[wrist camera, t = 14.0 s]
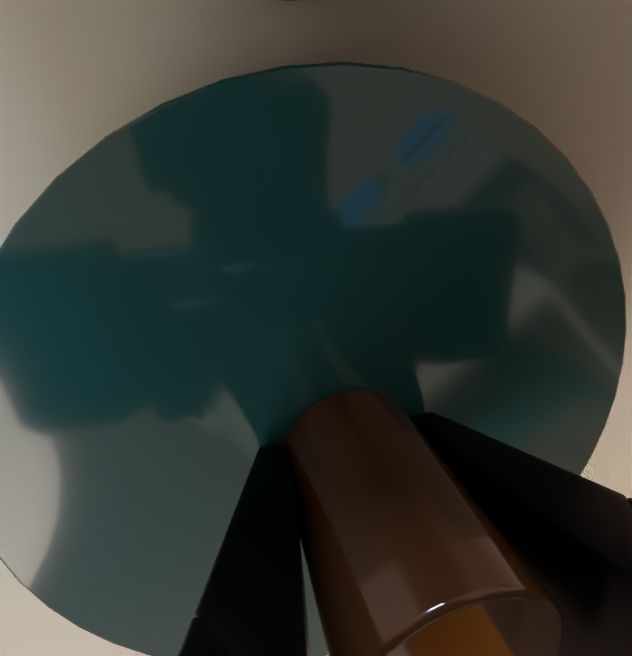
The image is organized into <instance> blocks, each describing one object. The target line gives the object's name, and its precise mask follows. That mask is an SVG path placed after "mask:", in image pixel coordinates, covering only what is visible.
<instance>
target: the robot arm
mask: <svg viewBox="0 0 632 656" xmlns="http://www.w3.org/2000/svg"><path fill="white" fill-rule="evenodd" d="M411 420H412V421H413V422H414V423H415V425H416V426H417V427H418V429H419V430H420V431H421V432H422V434H423V435H424V436H425V437H426V439H427V440H428V441H429V442H430V444H431V445H432V446H433V448H434V449H435V450H436V451H437V453H438V454H439V455H440V456H441V458H442V459H443V460H444V461H445V463H446V464H447V465H448V467H449V468H450V469H451V470H452V472H453V473H454V474H455V475H456V477H457V478H458V479H459V480H460V482H461V483H462V484H463V485H464V487H465V488H466V489H467V491H468V492H469V493H470V494H471V496H472V497H473V498H474V499H475V501H476V502H477V503H478V504H479V506H480V507H481V508H482V510H483V511H484V512H485V513H486V515H487V516H488V517H489V518H490V520H491V521H492V522H493V523H494V525H495V526H496V527H497V529H498V530H499V531H500V532H501V534H502V535H503V536H504V537H505V539H506V540H507V541H508V542H509V544H510V545H511V546H512V547H513V549H514V550H515V551H516V553H517V554H518V555H519V556H520V558H521V559H522V560H523V561H524V563H525V564H526V565H527V566H528V568H529V569H530V570H531V572H532V573H533V574H534V575H535V577H536V578H537V579H538V580H539V582H540V583H541V584H542V585H543V587H544V588H545V589H546V591H547V592H548V593H549V594H550V596H551V597H552V598H553V599H554V601H555V602H556V603H557V605H558V608H559V610H560V612H561V615H562V618H563V623H564V637H563V642H562V646H561V648H560V651H559V653H558V656H632V498H628V499H627V498H626V497H625V496H624V495H623V494H620V493H618V492H616V491H613V490H611V489H609V488H607V487H604V486H602V485H600V484H597V483H595V482H593V481H590V480H588V479H586V478H584V477H581V476H579V475H577V474H574V473H572V472H570V471H567V470H565V469H563V468H561V467H558V466H556V465H554V464H551V463H549V462H547V461H544V460H542V459H540V458H538V457H535V456H533V455H531V454H528V453H526V452H524V451H522V450H519V449H517V448H515V447H512V446H510V445H508V444H505V443H503V442H501V441H499V440H496V439H494V438H492V437H489V436H487V435H485V434H482V433H480V432H478V431H476V430H473V429H471V428H469V427H466V426H464V425H462V424H459V423H457V422H455V421H453V420H450V419H448V418H446V417H443V416H441V415H439V414H436V413H434V412H426V413H421V414H416V415H414V416H413V417H412V419H411ZM177 656H311V653H310V641H309V629H308V617H307V605H306V593H305V581H304V572H303V562H302V553H301V543H300V533H299V524H298V514H297V504H296V495H295V487H294V483H293V479H292V476H291V472H290V469H289V466H288V462H287V459H286V456H285V452H284V449H283V446H282V444H281V443H279V442H277V443H272V444H267V445H262V446H260V447H259V449H258V451H257V454H256V456H255V459H254V462H253V464H252V467H251V469H250V472H249V474H248V477H247V480H246V482H245V485H244V487H243V490H242V492H241V495H240V498H239V500H238V503H237V505H236V508H235V510H234V513H233V516H232V518H231V521H230V523H229V526H228V528H227V531H226V533H225V536H224V539H223V541H222V544H221V546H220V549H219V551H218V554H217V557H216V559H215V562H214V564H213V567H212V569H211V572H210V575H209V577H208V580H207V582H206V585H205V587H204V590H203V593H202V595H201V598H200V600H199V603H198V605H197V608H196V611H195V617H194V618H193V619H192V620H191V623H190V625H189V628H188V630H187V633H186V636H185V638H184V641H183V643H182V646H181V648H180V651H179V653H178V655H177Z"/></svg>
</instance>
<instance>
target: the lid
mask: <svg viewBox="0 0 632 656" xmlns="http://www.w3.org/2000/svg"><path fill="white" fill-rule="evenodd" d="M625 338H626V295H625V289H624V283H623V277H622V270H621V264H620V259H619V256H618V253H617V250H616V247H615V244H614V240H613V237H612V234H611V231H610V228H609V225H608V223H607V221H606V219H605V217H604V215H603V213H602V211H601V209H600V207H599V205H598V203H597V201H596V199H595V197H594V195H593V193H592V191H591V190H590V188H589V187H588V185H587V184H586V183H585V181H584V180H583V179H582V177H581V176H580V175H579V173H578V172H577V170H576V169H575V168H574V166H573V165H572V164H571V162H570V161H569V159H568V158H567V157H566V156H565V155H564V154H563V153H562V152H561V151H560V150H559V149H558V148H557V147H556V146H555V145H554V144H552V143H551V142H550V141H549V140H548V139H547V138H546V137H545V136H544V135H543V134H542V133H541V132H540V131H539V130H538V129H537V128H536V127H534V126H533V125H531V124H530V123H528V122H527V121H526V120H524V119H523V118H521V117H520V116H518V115H517V114H515V113H514V112H512V111H511V110H509V109H508V108H506V107H505V106H504V105H502V104H501V103H499V102H498V101H496V100H493V99H491V98H489V97H487V96H485V95H483V94H480V93H478V92H476V91H474V90H472V89H469V88H467V87H465V86H463V85H461V84H458V83H456V82H454V81H452V80H448V79H444V78H440V77H437V76H433V75H429V74H425V73H422V72H418V71H414V70H410V69H406V68H403V67H396V66H385V65H375V64H364V63H354V62H329V63H314V64H298V65H284V66H279V67H275V68H270V69H266V70H261V71H257V72H253V73H248V74H244V75H239V76H235V77H230V78H226V79H222V80H219V81H217V82H214V83H212V84H209V85H207V86H204V87H202V88H199V89H197V90H194V91H192V92H189V93H186V94H184V95H181V96H179V97H176V98H174V99H171V100H169V101H166V102H164V103H162V104H160V105H158V106H156V107H155V108H153V109H151V110H150V111H148V112H146V113H144V114H143V115H141V116H139V117H138V118H136V119H134V120H133V121H131V122H129V123H127V124H126V125H124V126H122V127H121V128H119V129H117V130H116V131H114V132H112V133H110V134H109V135H107V136H106V137H104V138H103V139H102V140H101V141H99V142H98V143H97V144H96V145H95V146H93V147H92V148H91V149H90V150H89V151H87V152H86V153H85V154H84V155H82V156H81V157H80V158H79V159H78V160H76V161H75V162H74V163H73V164H72V165H70V166H69V167H68V168H67V169H65V170H64V171H63V172H62V173H61V174H59V175H58V176H57V177H56V178H55V179H54V180H53V181H52V182H51V184H50V185H49V186H48V187H47V188H46V189H45V190H44V192H43V193H42V194H41V195H40V196H39V197H38V198H37V199H36V201H35V202H34V203H33V204H32V205H31V206H30V207H29V209H28V210H27V211H26V212H25V213H24V214H23V215H22V217H21V218H20V219H19V220H18V221H17V222H16V223H15V225H14V226H13V228H12V230H11V231H10V233H9V234H8V236H7V238H6V239H5V241H4V242H3V244H2V246H1V247H0V559H1V560H2V562H3V563H4V564H5V565H6V566H7V568H8V569H9V570H10V571H11V572H12V574H13V575H14V576H15V577H16V578H17V580H18V581H19V582H20V583H21V584H22V585H24V586H25V587H26V588H27V589H28V590H29V591H30V592H32V593H33V594H34V595H35V596H36V597H37V598H38V599H40V600H41V601H42V602H43V603H44V604H45V605H46V606H47V607H49V608H50V609H52V610H53V611H55V612H56V613H58V614H60V615H61V616H63V617H64V618H66V619H67V620H69V621H70V622H72V623H73V624H75V625H76V626H78V627H80V628H82V629H84V630H86V631H88V632H90V633H92V634H94V635H96V636H98V637H101V638H103V639H105V640H107V641H109V642H111V643H113V644H116V645H119V646H122V647H125V648H128V649H131V650H134V651H137V652H140V653H143V654H146V655H151V656H177V655H178V653H179V651H180V648H181V646H182V643H183V641H184V638H185V636H186V633H187V630H188V628H189V625H190V623H191V620H192V619H193V618H194V617H195V611H196V608H197V605H198V603H199V600H200V598H201V595H202V593H203V590H204V587H205V585H206V582H207V580H208V577H209V575H210V572H211V569H212V567H213V564H214V562H215V559H216V557H217V554H218V551H219V549H220V546H221V544H222V541H223V539H224V536H225V533H226V531H227V528H228V526H229V523H230V521H231V518H232V516H233V513H234V510H235V508H236V505H237V503H238V500H239V498H240V495H241V492H242V490H243V487H244V485H245V482H246V480H247V477H248V474H249V472H250V469H251V467H252V464H253V462H254V459H255V456H256V454H257V451H258V449H259V447H260V446H262V445H267V444H272V443H277V442H279V443H281V444H282V446H283V449H284V452H285V456H286V459H287V462H288V466H289V469H290V472H291V476H292V479H293V483H294V487H295V495H296V504H297V514H298V524H299V533H300V543H301V553H302V562H303V572H304V581H305V593H306V605H307V617H308V629H309V641H310V653H311V656H327V655H328V656H558V653H559V651H560V648H561V646H562V642H563V637H564V623H563V618H562V615H561V612H560V610H559V608H558V605H557V603H556V602H555V601H554V599H553V598H552V597H551V596H550V594H549V593H548V592H547V591H546V589H545V588H544V587H543V585H542V584H541V583H540V582H539V580H538V579H537V578H536V577H535V575H534V574H533V573H532V572H531V570H530V569H529V568H528V566H527V565H526V564H525V563H524V561H523V560H522V559H521V558H520V556H519V555H518V554H517V553H516V551H515V550H514V549H513V547H512V546H511V545H510V544H509V542H508V541H507V540H506V539H505V537H504V536H503V535H502V534H501V532H500V531H499V530H498V529H497V527H496V526H495V525H494V523H493V522H492V521H491V520H490V518H489V517H488V516H487V515H486V513H485V512H484V511H483V510H482V508H481V507H480V506H479V504H478V503H477V502H476V501H475V499H474V498H473V497H472V496H471V494H470V493H469V492H468V491H467V489H466V488H465V487H464V485H463V484H462V483H461V482H460V480H459V479H458V478H457V477H456V475H455V474H454V473H453V472H452V470H451V469H450V468H449V467H448V465H447V464H446V463H445V461H444V460H443V459H442V458H441V456H440V455H439V454H438V453H437V451H436V450H435V449H434V448H433V446H432V445H431V444H430V442H429V441H428V440H427V439H426V437H425V436H424V435H423V434H422V432H421V431H420V430H419V429H418V427H417V426H416V425H415V423H414V422H413V421H412V420H411V419H412V417H413V416H414V415H416V414H421V413H426V412H434V413H436V414H439V415H441V416H443V417H446V418H448V419H450V420H453V421H455V422H457V423H459V424H462V425H464V426H466V427H469V428H471V429H473V430H476V431H478V432H480V433H482V434H485V435H487V436H489V437H492V438H494V439H496V440H499V441H501V442H503V443H505V444H508V445H510V446H512V447H515V448H517V449H519V450H522V451H524V452H526V453H528V454H531V455H533V456H535V457H538V458H540V459H542V460H544V461H547V462H549V463H551V464H554V465H556V466H558V467H561V468H563V469H565V470H567V471H570V472H572V473H574V474H577V475H579V476H580V475H581V473H582V471H583V470H584V468H585V466H586V464H587V463H588V461H589V459H590V458H591V456H592V454H593V452H594V449H595V447H596V445H597V443H598V441H599V439H600V436H601V434H602V432H603V430H604V428H605V425H606V422H607V419H608V416H609V413H610V411H611V408H612V405H613V402H614V399H615V396H616V392H617V387H618V383H619V378H620V374H621V369H622V365H623V357H624V348H625Z"/></svg>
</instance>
